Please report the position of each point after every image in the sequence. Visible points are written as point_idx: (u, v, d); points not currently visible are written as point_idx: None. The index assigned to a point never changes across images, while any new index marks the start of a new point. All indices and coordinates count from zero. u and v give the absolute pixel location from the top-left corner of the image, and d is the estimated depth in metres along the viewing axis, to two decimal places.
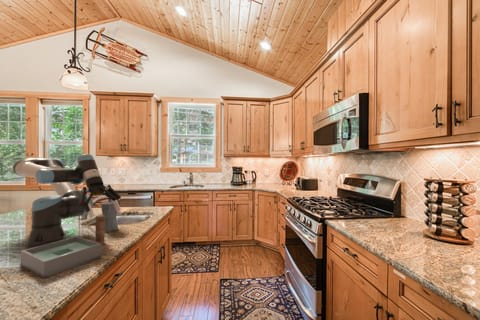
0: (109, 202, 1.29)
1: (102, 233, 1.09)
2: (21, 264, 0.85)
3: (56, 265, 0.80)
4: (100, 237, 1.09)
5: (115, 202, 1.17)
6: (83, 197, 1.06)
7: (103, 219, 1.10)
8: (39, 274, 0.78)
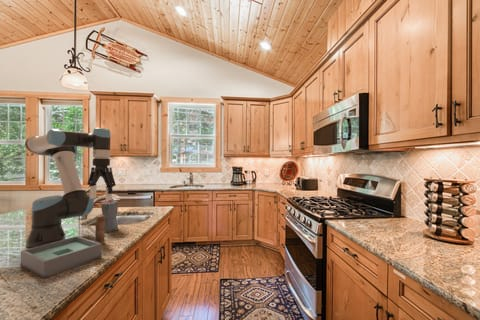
0: (109, 202, 1.30)
1: (102, 233, 1.09)
2: (21, 264, 0.85)
3: (56, 265, 0.80)
4: (100, 237, 1.09)
5: None
6: (89, 178, 1.14)
7: (103, 219, 1.10)
8: (39, 274, 0.78)
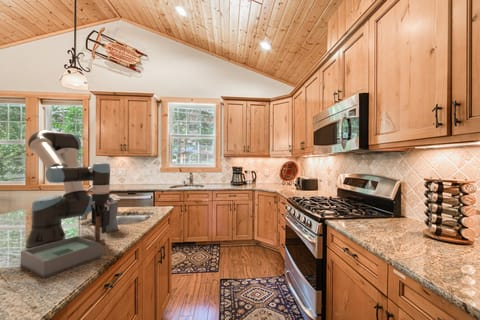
0: (109, 202, 1.29)
1: None
2: (21, 264, 0.85)
3: (56, 265, 0.80)
4: None
5: None
6: (92, 216, 1.12)
7: None
8: (39, 274, 0.78)
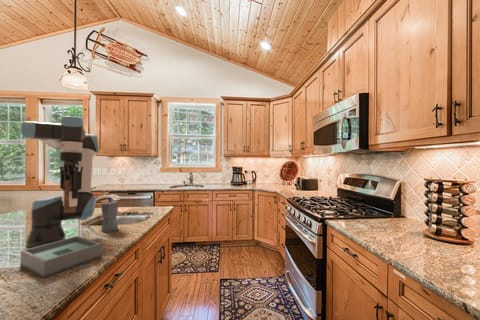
0: (109, 202, 1.29)
1: None
2: (21, 264, 0.85)
3: (56, 265, 0.80)
4: None
5: None
6: (60, 180, 0.94)
7: None
8: (39, 274, 0.78)
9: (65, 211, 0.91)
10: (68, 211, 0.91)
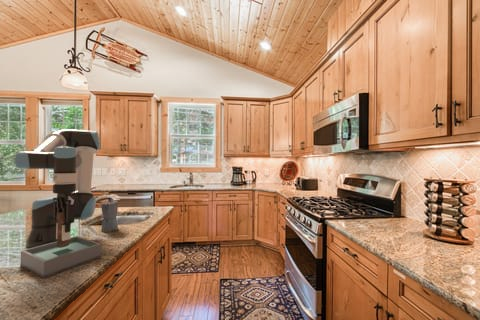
0: (109, 202, 1.29)
1: None
2: (21, 264, 0.85)
3: (56, 265, 0.80)
4: None
5: None
6: (54, 212, 0.92)
7: None
8: (39, 274, 0.78)
9: (58, 245, 0.88)
10: (61, 245, 0.88)
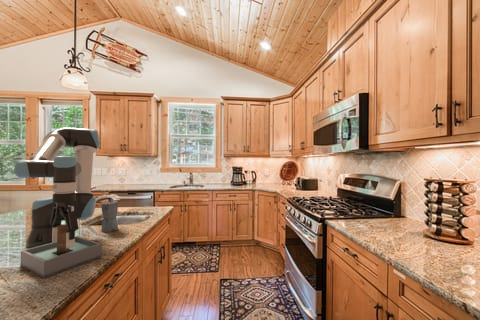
0: (109, 202, 1.29)
1: (65, 246, 0.89)
2: (21, 264, 0.85)
3: (56, 265, 0.80)
4: (63, 251, 0.89)
5: None
6: (51, 217, 0.93)
7: None
8: (39, 274, 0.78)
9: None
10: None
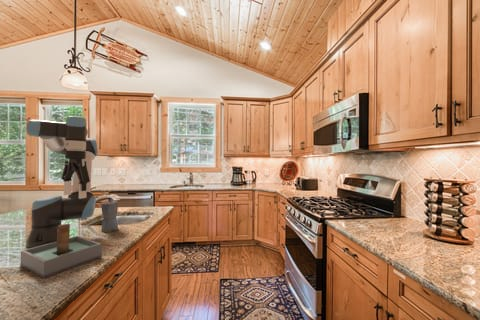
0: (109, 202, 1.30)
1: (65, 246, 0.89)
2: (21, 264, 0.85)
3: (56, 265, 0.80)
4: (63, 251, 0.89)
5: None
6: (63, 172, 1.01)
7: (67, 229, 0.90)
8: (39, 274, 0.78)
9: None
10: None
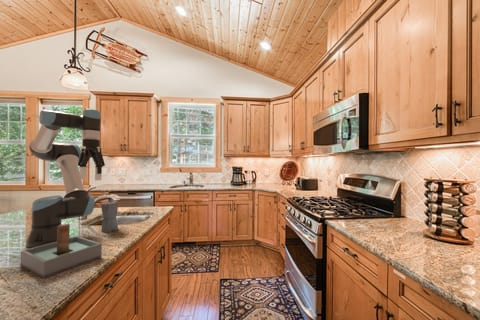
0: (109, 202, 1.29)
1: (65, 246, 0.89)
2: (21, 264, 0.85)
3: (56, 265, 0.80)
4: (63, 251, 0.89)
5: None
6: (79, 159, 1.15)
7: (67, 229, 0.90)
8: (39, 274, 0.78)
9: None
10: None
